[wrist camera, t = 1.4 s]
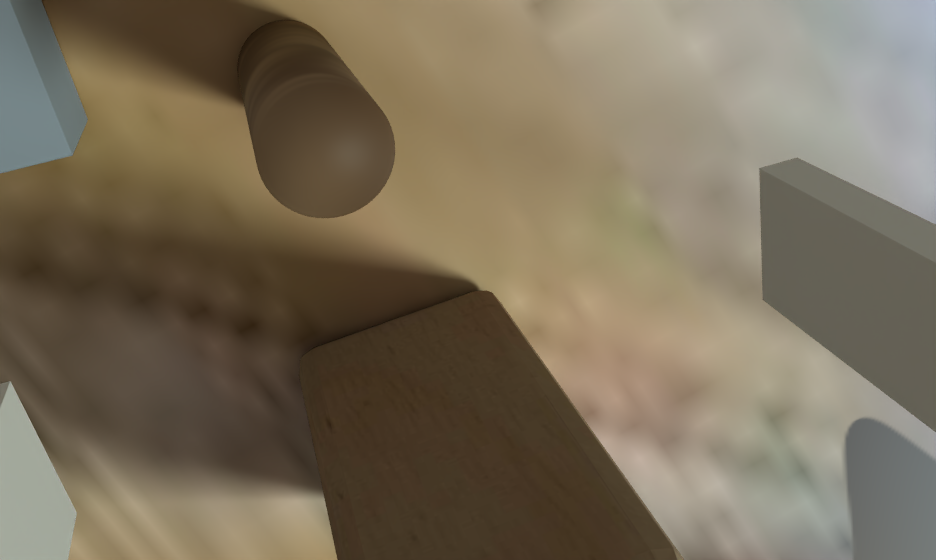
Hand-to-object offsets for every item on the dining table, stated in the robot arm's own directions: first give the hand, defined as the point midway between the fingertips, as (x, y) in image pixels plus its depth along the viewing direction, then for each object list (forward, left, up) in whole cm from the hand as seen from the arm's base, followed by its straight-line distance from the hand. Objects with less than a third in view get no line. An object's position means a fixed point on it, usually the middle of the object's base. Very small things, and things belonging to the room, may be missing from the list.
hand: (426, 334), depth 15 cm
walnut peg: (0, 0, -24) cm, 24 cm away
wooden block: (+2, -17, -24) cm, 29 cm away
